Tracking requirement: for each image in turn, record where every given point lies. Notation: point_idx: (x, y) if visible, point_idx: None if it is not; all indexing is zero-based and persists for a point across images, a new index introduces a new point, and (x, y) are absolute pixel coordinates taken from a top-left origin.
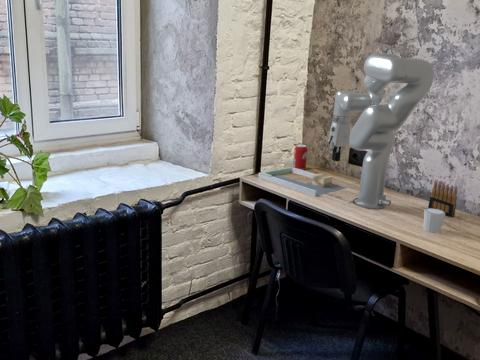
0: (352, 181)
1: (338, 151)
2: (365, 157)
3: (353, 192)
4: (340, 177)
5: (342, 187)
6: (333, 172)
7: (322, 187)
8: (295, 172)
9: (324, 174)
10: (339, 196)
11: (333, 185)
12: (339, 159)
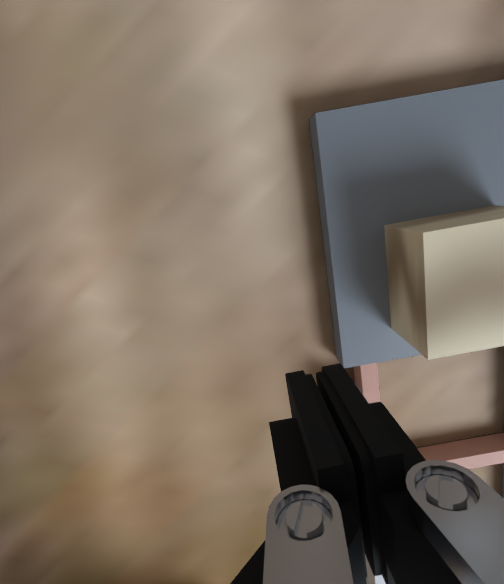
0: (55, 312)
1: (417, 490)
2: None
3: (278, 64)
4: (79, 421)
5: (344, 137)
6: (44, 525)
7: (499, 205)
8: None
9: (434, 319)
10: (478, 25)
11: (370, 215)
12: (297, 381)
